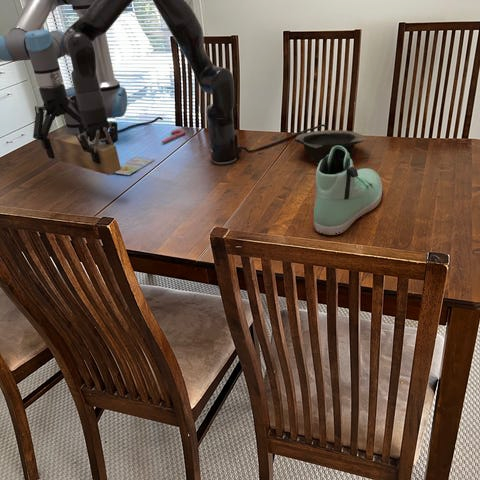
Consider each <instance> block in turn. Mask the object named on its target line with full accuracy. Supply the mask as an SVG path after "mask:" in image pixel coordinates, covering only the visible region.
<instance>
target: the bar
mask: <svg viewBox="0 0 480 480" xmlns="http://www.w3.org/2000/svg"><path fill="white" fill-rule="evenodd" d="M86 140H87V142H88V139H86ZM93 141H94V140H93ZM53 142H54V145H55V149H56V151H57V155H58V158H59V161H60V162H63V163H66V164H69V165H73V166H77V167H80V168H83V169H86V170H90V171H93V172H96V173H100V174H103V175H106V176H110V175H112V174H116V173H115V172H117V171H119V170H121V167H120V166H121V163H120V158H119V155H118V151H117V150H118V149H117V147H116V146H117V145H115V144H114V145H110V144H106V143H105V142H99V144H98V146H97V152H98V155H99V159H100V164H96V163H94V162H93V160H92V157H91V153H88V152H85V151H84V150H83V148H82V147H81V145H80V143H79V141H78V139H77V137H76V136H73V135H69V134H66V133H64V134H61V135H59V136H56V137H54V138H53ZM88 144H89V143H88Z"/></svg>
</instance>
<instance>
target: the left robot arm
mask: <svg viewBox="0 0 480 480" xmlns="http://www.w3.org/2000/svg"><path fill="white" fill-rule="evenodd" d="M94 1H95V0H27V1H26V3H25V4H24V6H23V8H22V9H21V10H20V11H21V12H20V13H19V15H18V16H17V18H16V20H15V21H14V23H13V25H12V26H11V28H10V30H9V31H8V33H7V34H6V35H5V34H2V35H0V60H1V61H4V62H18V61H19V62H21V61H30V63H31V66H32V69H33V73H34V77H35V81H36V84H37V86H38V87H39V88H38V90H39V95H40V97H41V100H42V103H43V105H40V106H38V105H35V106H34V111H35V112H34V113H35V117H34V127H33V134H32V138H33V139H34V140H38V141H40V144H41V147H42V148H43V150H45V151H46V155H47V158H48V159H52V160H55V159H56V155H55V153H54V149H53V146H52V142H51V139H50V138H48V136H49V133H50V130H51V127H52V125H53V121H55V120H56V118H58V117H60V116H63V119H64V123H65V126H66V133H65V134H69V135H73V136H76V135H77V134H81V133H82V132H84V125H83V123H82V120H81V116H80V113H79V109H78V105H77V101H76V94H75V89H74V86H71V87H67V88H66V86H65V84H64V79H63V75H62V72H61V67H60V63H59V59H61V58H62V57H65V56H67V55H66V54H65V53H64V52H63V51H62V49H61V45H60V42H61V38H62V36H63V34H64V33H65V31H63V30H59V29H58V30H57V29H56V30H51V31H49V30H48V29H42V28H43V27H44V25H45V23H46V21H47V19H48V17H49V15H50V14H51V12H54V11H55V10H56V9H57V7H59V6H69V5H70V6H71V7H72V11H73V12H74V13H75V14H77V16H78V19H80V18H81V17H82V16H83V15H84V14H85V12H86V11H87V10H88V9H89V7H90V6H91V5H92V4H93V3H94ZM92 43H93V45H94V49H95V56H96V74H97V77H98V81H99V86H100V90H101V92H102V95H103V99H104V103H105V108H106V112H107V117H108V119H116V118H122V117H124V116H125V115H126V112H127V109H128V94H127V91H126V90H127V89H126V88H125V87H123V86H121V83H120V81H119V80H118V79H116V78H115V72H114V68H113V62H112V58H111V53H110V48H109V42H108V37H107V32H106V33H105V34H104V35H102V36H99V37H97V38H96V39H95V40H94V41H93V42H92ZM158 120H160V121H164V118H163V117H161V116H157V117H156V118H154V119H153V120H150V121H144V122H139V123H134V124H131V125H129V126H126V127H124V128H122V129H118V134H119V133H122V132H124V131H127V130H130V129H132V128H135V127H140V126H145V125H150V124H154V123H156V122H157V121H158ZM108 133H109V131H108ZM86 137H87V139H88V136H86ZM99 142H102V143H104V140H103V139H100V140H99Z"/></svg>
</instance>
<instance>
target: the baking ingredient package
mask: <svg viewBox="0 0 480 480" xmlns="http://www.w3.org/2000/svg"><path fill="white" fill-rule="evenodd" d="M153 161H154V159H148V158H147V159H146V158H141V157H134V158H132V159H130V160H128V161H126V162H125V163H123V164H120V167H121V170H119V171H117V172H115V173H114V174H119V175H127V176H130V175H132V174H133V173H135V172H137V171H138V170H140V169H142V168H143V167H145V166H146V165H148V164H150V163H151V162H153Z"/></svg>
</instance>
